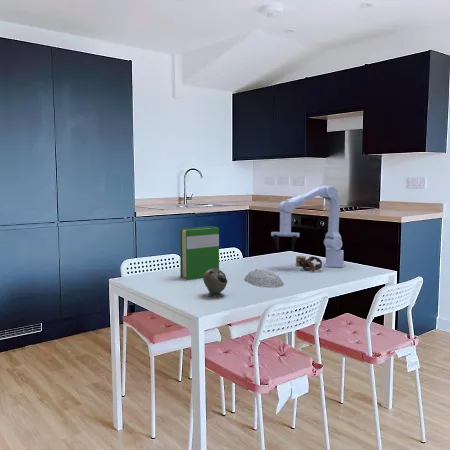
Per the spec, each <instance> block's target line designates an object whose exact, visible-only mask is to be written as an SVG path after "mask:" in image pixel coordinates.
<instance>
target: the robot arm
mask: <svg viewBox="0 0 450 450" xmlns="http://www.w3.org/2000/svg"><path fill="white" fill-rule="evenodd" d="M315 197H321V198H322V199H324V200H326V201H327V203H329V204H328V205H329V206H328V223H327V227H328V228H327V232H326V233H325V238H324V240H323V245H324V247H325V263H324V266H325V268H326V267H327V268H328V267H331V268H344V262H345V261H344V250H343V249H342V247H343V241H342V236H341V234H340V232H339V231H340V230H339V227H340V225H339V224H340V208H341V206H340V205H341V199H340V196H339V193H338V189H337V188H336V187H335V186H334V185H323V184H322V185H319V186H316V187H315V188H314V189H311V190H310V191H308V192H306V193H304V194H294V196H293V197H291V198H287V199H286V200H282V201H281V202H280V203H278V206H277V208H278V210H279V231H271V232H270V233H271V234H270V236H271V237H272V239H273V241H274V243H275V246H276V250H277V251H278V250H279V246H280V245H279V239H280V237H291V251H292V252H293V251H294V248H295V243H296V241H297V239H298V238H299V237H300V232H292V212H293V210H295V209H297V208H299V207H301V206H303V205H304V204H305V202H306V201H309V200H311V199H313V198H315Z"/></svg>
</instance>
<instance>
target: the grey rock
mask: <svg viewBox="0 0 450 450" xmlns="http://www.w3.org/2000/svg"><path fill="white" fill-rule="evenodd" d="M243 281H244V282H246V283H248V284H250V285H252V286H255V287H260V288H263V289H264V288H265V289H274V288H275V289H276V288H281V287H283V286H284V285H285V283H284V282H283V280H282V278H280V276H279V275H278V274H276V273H275V272H271V271H270V270H269V271H268V270H266V269H258V268H255V269H254V270H251V271H249V272H248V273H247V274H246V275H245V277H244V278H243Z"/></svg>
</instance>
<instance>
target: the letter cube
mask: <svg viewBox="0 0 450 450" xmlns="http://www.w3.org/2000/svg"><path fill="white" fill-rule="evenodd" d="M300 259H305V260H307V257H306V256H305V255H296V257H295V267H297V268H298V267H299V268H300V267H301V266H300V265H299V260H300ZM301 263H302V264H304V263H303V262H301ZM301 268H302V267H301Z"/></svg>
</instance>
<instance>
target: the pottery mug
mask: <svg viewBox="0 0 450 450" xmlns="http://www.w3.org/2000/svg"><path fill="white" fill-rule="evenodd" d="M314 260H315V261H316V262H317V263H316V264H314ZM301 262H303V263H304V264H302V263H301ZM318 263H319V264H318ZM299 265H300V266H301V268H302V269H303V270H305V269H307V268H309V269H311V270H310V271H311V273H314V272H316V271H318V270H320V269H321V268H322V267H323V261H322V260H321V259H320V258H319V257H317V256H309V257H308V258H306V260H305V259H300V260H299Z"/></svg>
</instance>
